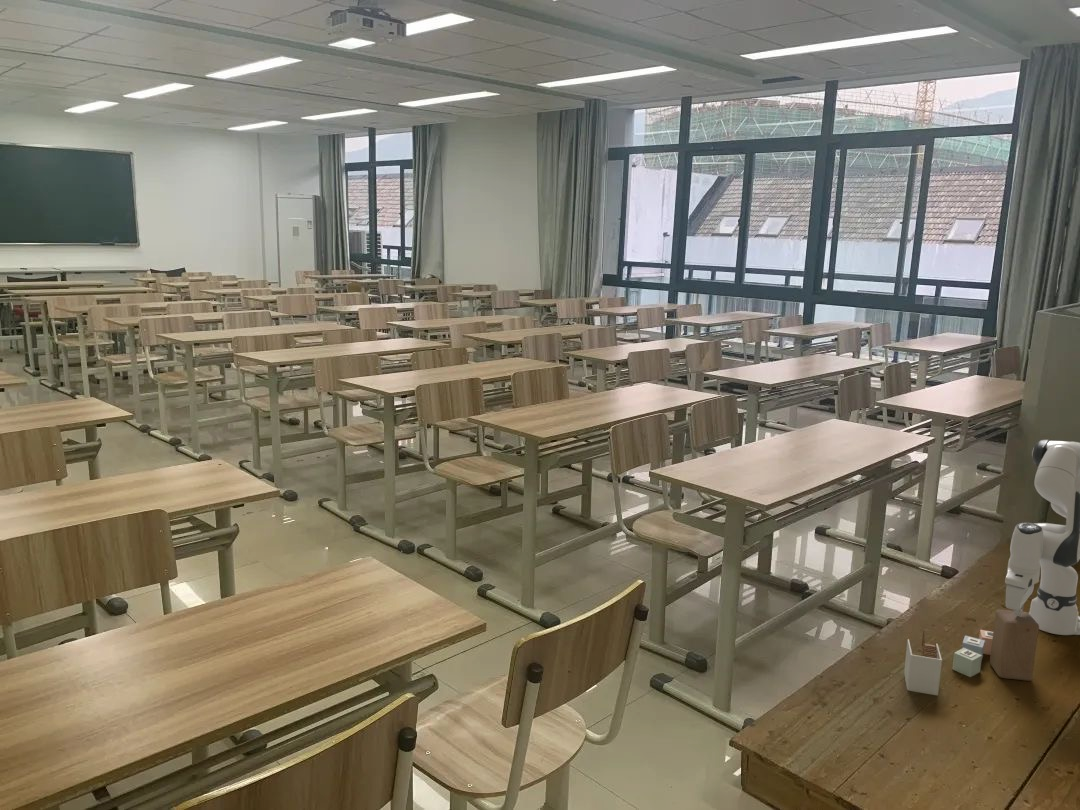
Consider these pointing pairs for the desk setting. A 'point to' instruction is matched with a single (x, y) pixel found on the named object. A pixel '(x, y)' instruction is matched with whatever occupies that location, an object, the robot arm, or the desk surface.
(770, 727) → the desk surface
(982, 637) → the tile cube terracotta
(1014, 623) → the wooden block
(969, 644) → the tile cube slate
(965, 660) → the tile cube sage
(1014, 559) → the robot arm
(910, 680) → the tall white open bin
